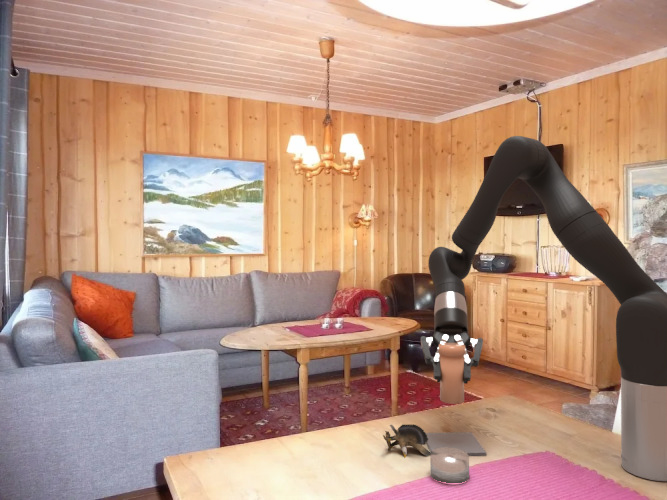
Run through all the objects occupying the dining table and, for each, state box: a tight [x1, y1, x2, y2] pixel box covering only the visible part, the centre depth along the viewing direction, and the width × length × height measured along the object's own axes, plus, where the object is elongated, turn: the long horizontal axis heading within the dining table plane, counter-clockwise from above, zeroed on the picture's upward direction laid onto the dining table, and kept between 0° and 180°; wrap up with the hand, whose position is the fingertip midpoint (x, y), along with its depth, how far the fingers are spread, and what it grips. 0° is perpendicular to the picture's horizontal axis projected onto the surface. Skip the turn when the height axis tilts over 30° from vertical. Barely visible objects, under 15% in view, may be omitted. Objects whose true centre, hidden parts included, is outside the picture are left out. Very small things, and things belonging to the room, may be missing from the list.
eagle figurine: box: [382, 424, 431, 458], centre depth 103 cm, size 8×7×9 cm
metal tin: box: [430, 447, 470, 483], centre depth 93 cm, size 7×7×4 cm
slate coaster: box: [425, 431, 487, 457], centre depth 107 cm, size 11×11×1 cm
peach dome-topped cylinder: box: [439, 343, 465, 405], centre depth 107 cm, size 6×6×12 cm
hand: (452, 380), depth 105 cm, fingers closed on peach dome-topped cylinder, 5 cm apart
